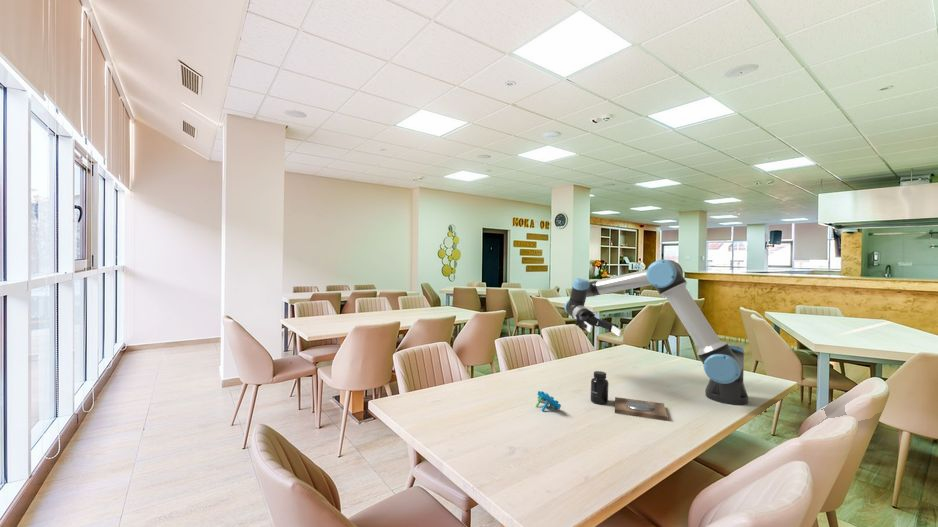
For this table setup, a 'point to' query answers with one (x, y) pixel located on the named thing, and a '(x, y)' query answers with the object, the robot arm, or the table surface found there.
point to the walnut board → (640, 408)
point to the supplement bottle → (599, 388)
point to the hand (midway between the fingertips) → (605, 331)
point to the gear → (547, 400)
